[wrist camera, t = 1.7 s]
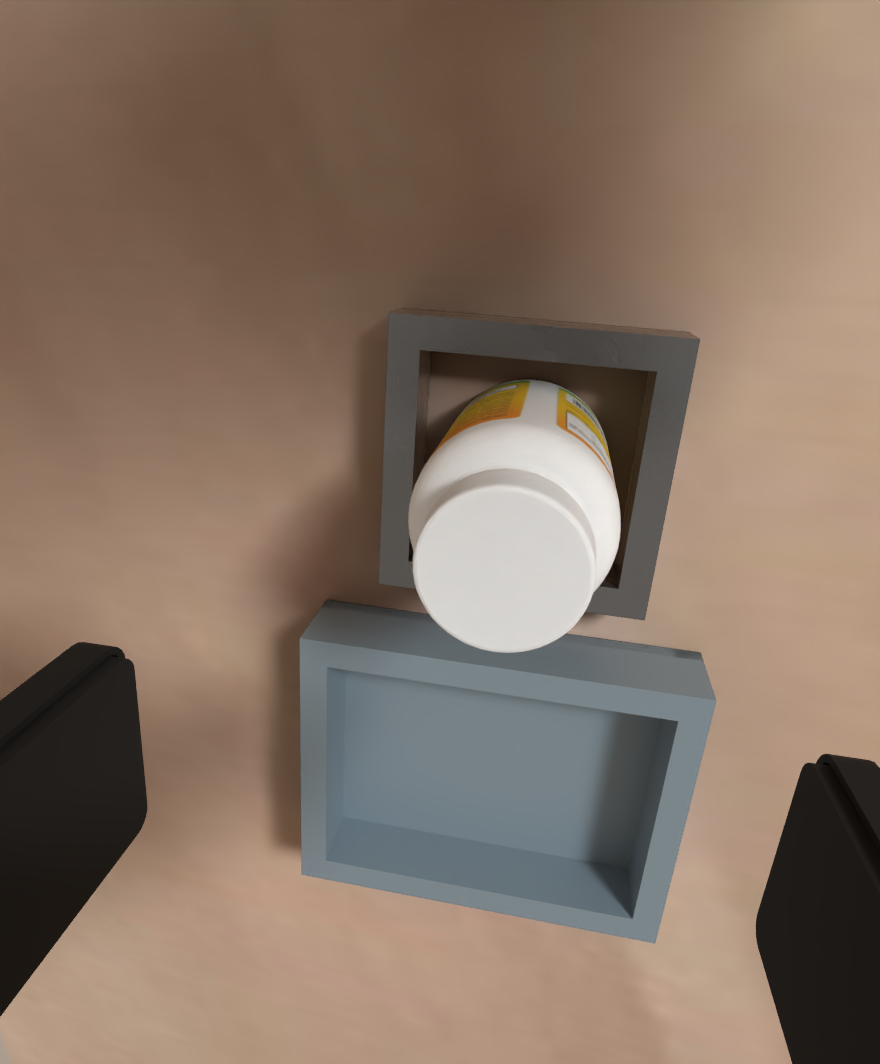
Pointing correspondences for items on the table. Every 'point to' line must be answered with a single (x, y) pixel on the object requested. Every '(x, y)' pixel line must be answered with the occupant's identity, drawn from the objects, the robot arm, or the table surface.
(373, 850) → the tray
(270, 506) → the table surface
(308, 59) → the table surface
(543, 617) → the supplement bottle
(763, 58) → the table surface
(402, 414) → the cradle
